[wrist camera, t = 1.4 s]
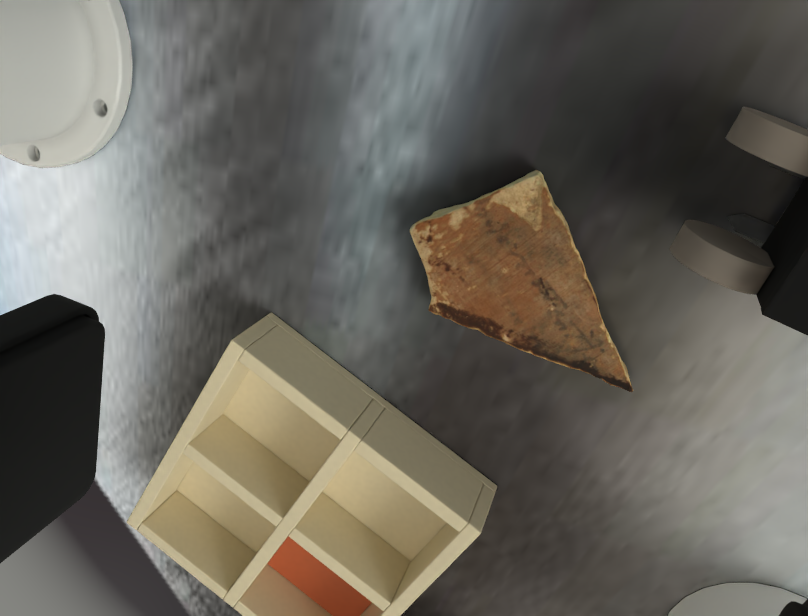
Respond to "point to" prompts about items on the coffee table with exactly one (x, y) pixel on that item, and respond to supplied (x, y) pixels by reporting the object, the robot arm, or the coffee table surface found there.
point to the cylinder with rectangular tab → (736, 601)
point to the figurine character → (760, 229)
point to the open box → (307, 488)
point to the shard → (518, 277)
